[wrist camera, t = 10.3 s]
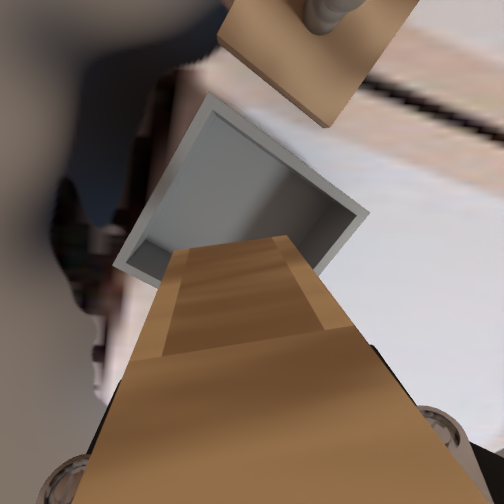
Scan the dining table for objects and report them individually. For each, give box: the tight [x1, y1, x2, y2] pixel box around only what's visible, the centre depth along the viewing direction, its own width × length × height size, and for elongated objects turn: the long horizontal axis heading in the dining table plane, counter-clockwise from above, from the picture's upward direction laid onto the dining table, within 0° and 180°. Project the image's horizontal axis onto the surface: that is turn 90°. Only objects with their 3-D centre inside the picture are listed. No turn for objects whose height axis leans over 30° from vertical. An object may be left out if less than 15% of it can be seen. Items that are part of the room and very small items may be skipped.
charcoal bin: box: [112, 92, 370, 289], centre depth 27 cm, size 16×16×7 cm
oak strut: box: [72, 235, 489, 504], centre depth 9 cm, size 6×6×13 cm
